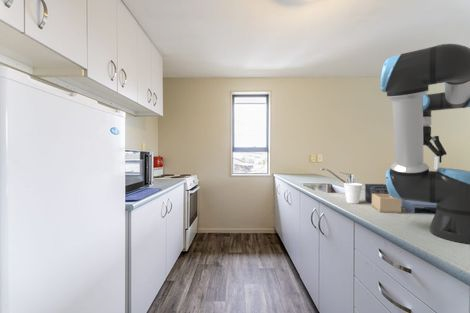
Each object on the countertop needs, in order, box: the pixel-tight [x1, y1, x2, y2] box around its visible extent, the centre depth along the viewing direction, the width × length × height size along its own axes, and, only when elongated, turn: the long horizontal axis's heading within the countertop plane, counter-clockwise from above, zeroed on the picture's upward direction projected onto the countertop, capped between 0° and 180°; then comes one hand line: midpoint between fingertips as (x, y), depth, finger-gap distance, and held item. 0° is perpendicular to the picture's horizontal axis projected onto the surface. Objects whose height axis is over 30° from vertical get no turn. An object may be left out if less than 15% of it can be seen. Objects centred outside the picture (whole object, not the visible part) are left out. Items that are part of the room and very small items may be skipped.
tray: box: [371, 194, 402, 214], centre depth 115 cm, size 12×9×7 cm
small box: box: [364, 183, 389, 204], centre depth 133 cm, size 11×6×10 cm, turn 84°
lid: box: [401, 200, 437, 214], centre depth 114 cm, size 14×12×5 cm
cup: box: [342, 182, 363, 205], centre depth 130 cm, size 10×10×11 cm
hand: (420, 169), depth 113 cm, fingers open, 13 cm apart
